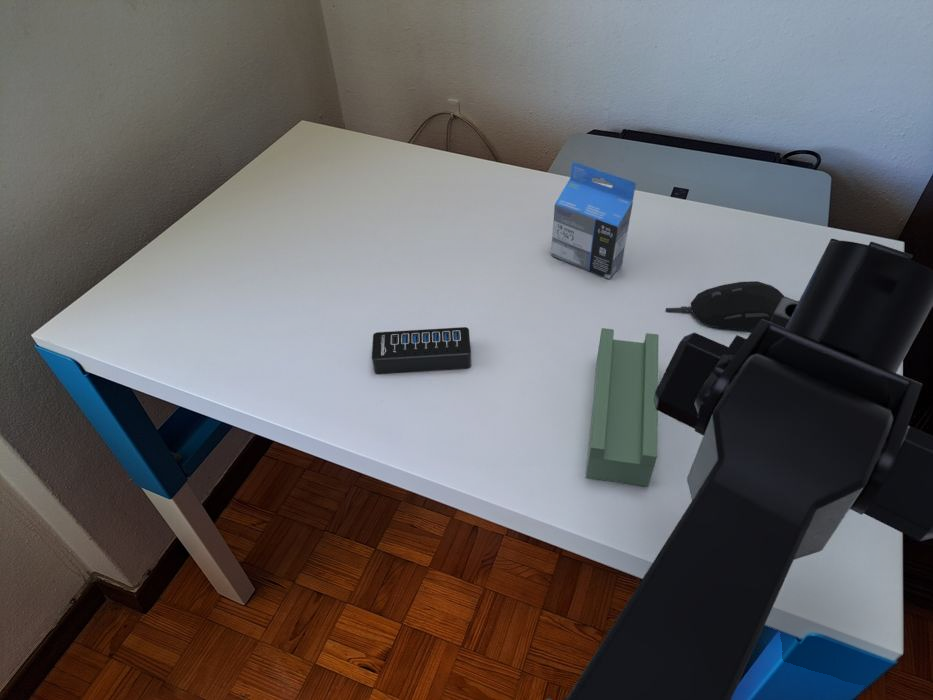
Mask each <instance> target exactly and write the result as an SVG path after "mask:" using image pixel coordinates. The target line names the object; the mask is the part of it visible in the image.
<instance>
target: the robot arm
mask: <svg viewBox="0 0 933 700" xmlns="http://www.w3.org/2000/svg"><path fill="white" fill-rule="evenodd" d="M912 258H913V254H911V253H908V252H905V251H902V250H898V249H896V248H892V247H890V246H887V245H885V244H881V243H878V242H876V241H870V242H869V244H864V243H860V242H855V241H848V240H840V239H836V238H830V240H829V241H828V244H827V246H826V248H825V250H824V252H823V253H822V255H821V257H820V260H818V263H817V265H816V268H815V269H814V271H813V273H812V275H811V276H810V279H809V280H808V282H807V285H806V287H805V288H804V291H803V292H802V294H801V297H800V299H799V300H796V299H793V298H790V297H788V296H785V297H782V299H781V301H780V303H779V304H778V306H777V308H776V310H775V312H774V314H773V316H772V319H771V321H770V322H769V321H766V320H764V319H761V320H760V322H759V323H758V325H757V326H756V327H755V329H754V330H753V331H751V332H750V333H749V335H748V336H747V338H745V337H742V336H741V335H738V334H736V335H735V337H734V338H733V340H732V341H731V343H730V344H729V345H725V344H722V343H720V342H717V341H716V340H714V339H711V338H708V337H707V336H704V335H701V334H699V333H697V332H695V331H694V332H692V333H689V334H687V335H684V336H683V338H682V339H681V340H680V341H679V342H678V344H677V347H676V349H675V351H674V353H673V355H672V356H671V359H670V361H669V363H668V365H667V367H666V369H665V370H664V373H663V374H662V377H661V379H660V381H659V382H658V387H657V389H656V391H655V394H654V398H653V401H654V404H655V408H656V410H658V412H660V413H662V414H664V415H665V416H668V417H669V418H672V419H674V420H676V421H678V422H680V423H681V424H684V425H686V426H687V427H690V428H692V429H694V432H696V433H697V434H699V435H701V436H703V437H702V438H701V441H700V444H699V447H698V449H697V452H696V454H695V457H694V460H693V462H692V465H691V466H690V469H689V472H688V474H687V476H686V482H687V487H688V489H689V494H690V499H691V502H690V503H689V504H688V506H687V508H686V510H685V511H684V513H682V516H681V517H680V519H679V520H678V522H677V523H676V525H675V526H674V528H673V530H672V532H671V533H670V534H669V536H668V538H667V539H666V541H665V543H664V544H663V546H662V547H661V549H660V551H659V552H658V554H657V555H656V557H655V558H654V560H653V562H652V563H651V564H650V566H649V567H648V569H647V571H646V573H645V574H644V576H643V577H642V579H641V581H640V582H639V584H638V585H637V587H635V590H634V591H633V593H632V595H631V596H630V598H629V599H628V600H627V602H626V604H625V605H624V607H623V608H622V611H621V612H620V614H619V615H618V617H617V618H616V620H615V621H614V623H613V624H612V626H611V628H610V629H609V631H608V632H607V634H606V635H605V637H604V639H603V640H602V641H601V643H600V645H599V646H598V649H596V651H595V653H594V654H593V656H592V658H591V659H590V661H588V664H587V665H586V667H585V669H584V670H583V671H582V673H581V674H580V676H579V678H578V679H577V681H576V683H574V686H573V688H572V689H571V691H570V692H569V694H568V695H567V696H564V697H563V698H562V700H732V699H733V696H734V694H735V692H736V689H737V687H738V685H739V683H740V680H741V679H742V676H743V675H744V672H745V670H746V667H747V665H748V663H749V661H750V658H751V657H752V654H753V652H754V649H755V647H756V646H757V644H758V641H759V638H760V636H761V634H762V632H763V629H764V628H765V625H766V623H767V621H768V618H769V616H770V614H771V611H772V609H773V607H774V605H775V603H776V600H777V599H778V596H779V593H780V591H781V589H782V587H783V585H784V582H785V580H786V578H787V576H788V573H789V571H790V569H791V567H792V565H793V563H794V560H797V559H801V558H803V557H807V556H810V555H813V554H816V553H819V552H821V551H823V550H824V548H825V547H826V545H827V544H828V543H829V541H830V539H831V538H832V536H833V535H834V533H835V532H836V530H837V528H838V527H839V526H840V524H841V523H842V521H843V520H844V518H845V517H846V515H847V514H848V512H849V510H851V511H853V512H854V513H857V514H859V515H863V514H864V515H866V516H868V517H870V518H872V519H874V520H875V521H878V522H880V523H882V524H883V525H885V526H888V527H890V528H892V529H893V530H896V531H898V532H900V533H902V534H904V535H906V536H908V537H909V538H912V539H914V540H916V541H918V542H923V541H927V540H930V539H933V435H932V434H929V433H927V432H925V431H922V430H921V429H918V428H916V427H913V426H911V425H910V421H911V419H912V416H913V412H914V410H915V408H916V404H917V401H918V398H919V396H920V394H921V390H922V387H923V383H921V382H919V381H916V380H915V379H912V378H909V377H906V376H904V375H901V374H900V373H897V372H898V370H899V369H900V367H901V365H902V364H903V361H904V360H905V357H906V355H907V354H908V352H909V350H910V348H911V347H912V344H914V343H913V342H914V341H915V339H916V337H917V335H918V334H919V332H920V330H921V329H922V326H923V324H924V323H925V320H926V319H927V318H928V315H929V313H930V312H931V310H932V308H933V269H931V268H930V267H928V266H926V265H924V264H922V263H920V262H917V261H916V260H914V259H912ZM546 700H553V699H552V698H551V697H549V698H546Z"/></svg>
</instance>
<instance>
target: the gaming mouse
mask: <svg viewBox="0 0 933 700" xmlns="http://www.w3.org/2000/svg"><path fill="white" fill-rule="evenodd" d="M782 297H786V296H785V295H784V294H783V293H782V292H781V291H780V290H779V289H778V288H776V287H774V286H773V285H771V284H769V283H765V282H762V281H759V280H756V281H755V280H754V281H753V280H751V281H738V282H732V283H725V284H722V285H717V286H714V287H710V288H707V289H705V290H702V291H701V292H699V293H697V294H696V295H695V296H694V298H693V299H692V301H691V302H690V306H687V305H686V306H683V305H682V306H680V307H665V312H681V313H687V312H692V314H693V316H694V317H695V318H696V319H697V320H698V321H699V323H701V324H704V325H707V326H710V327H711V328H719V329H727V330H742V331H751V332H752V331H753V330H754V329H755V327H756V326H757V325H758V323H759V322H760V320H761V319H764V320H766V321H769V322H770V321H771V319H772V316H773V314H774V312H775V310H776V308H777V306H778V304H779V303H780V301H781V299H782Z"/></svg>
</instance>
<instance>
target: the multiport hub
mask: <svg viewBox="0 0 933 700" xmlns="http://www.w3.org/2000/svg"><path fill="white" fill-rule="evenodd" d="M371 345H372V346H371V347H372V348H371V362H372V366H373V372H374V374H377V375H380V374H397V373H415V372H431V371H447V370H462V369H470V368H471V367H472V350H471V336H470V329H469V327H467V326H461V327H460V326H458V327H444V328H427V329H425V328H424V329H411V330H395V331H394V330H393V331H377V332H375V333H373V334H372V344H371Z"/></svg>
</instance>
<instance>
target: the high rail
mask: <svg viewBox="0 0 933 700" xmlns="http://www.w3.org/2000/svg"><path fill="white" fill-rule="evenodd" d="M614 331H615V329H612V328H606V327H605V328H604V327H602V328H601V330H600V336H599V344H598V349H597V355H596V365H595V366H596V367H595V376H594V385H593V396H592V406H591V416H590V427H589V436H588V437H589V438H588V449H587V459H586V470H585V478H587V479H594V480H601V481H607V482H614V483H621V484H627V485H634V486H640V487H647V488H648V487H649V486H650V483H651V480H652V477H653V472H654V469H655V466H656V462H657V459H658V425H659V424H658V423H659V422H658V421H659V411H658V410H656V408H655V404H654V401H653V398H654V394H655V391H656V389H657V387H658V385H659V338H660V337H659V334H658V333H650V332H649V333H648V332H646V333H645V337H644V342H638V341H630V340H628V341H627V340H621V339H614Z"/></svg>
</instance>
